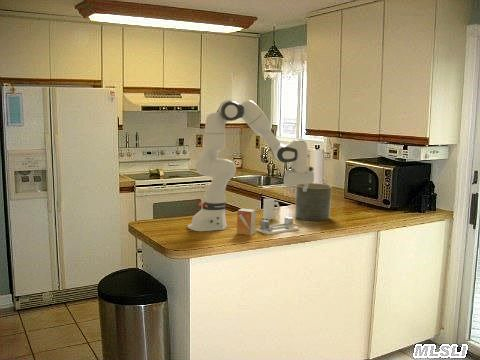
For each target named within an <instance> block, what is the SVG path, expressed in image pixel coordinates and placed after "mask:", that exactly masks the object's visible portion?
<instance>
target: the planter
mask: <svg viewBox="0 0 480 360" xmlns="http://www.w3.org/2000/svg"><path fill="white" fill-rule="evenodd" d="M304 186H305V185H304V184H301V185H295V202H294V203H295V205H294V207H295V210H294V211H295V213H294V215H295V216H294V217H295V218H297V219H299V220H302V221H310V222H322V221H328V220H329V219H330V216H331V214H330V213H331V205H332V204H331V203H332V201H331V200H332V190H333V189H332V185H330V184H325V183H316V182H313V183H310V184H308V187H307V191H306V192H303V188H304Z"/></svg>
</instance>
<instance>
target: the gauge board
mask: <svg viewBox="0 0 480 360" xmlns="http://www.w3.org/2000/svg"><path fill="white" fill-rule="evenodd" d="M270 221H271V220H266V219H262V220H260V226H258V227H257V228H256V231H257V232H259V233H262V234H265V235H274V234H279V233H281V234H282V233H287V232H294V231H299V230H300V227H297V226H296V225H288V226H286V225H284V222H283V223H278V224H276V223H275V224H271V223H270Z"/></svg>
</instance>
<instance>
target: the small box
mask: <svg viewBox="0 0 480 360" xmlns="http://www.w3.org/2000/svg"><path fill="white" fill-rule="evenodd" d="M236 220H237V221H236V222H237V223H236V234H237V235H243V234H244V236H253V235H254V234H255V233H256V232H255V231H256V230H255V229H256V209H250V208H240V209H237V217H236Z"/></svg>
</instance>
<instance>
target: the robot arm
mask: <svg viewBox="0 0 480 360" xmlns="http://www.w3.org/2000/svg"><path fill="white" fill-rule="evenodd" d="M238 119H241V120H243V121H244V122H245V124H247V126H248V127H249V128H250V129H251V130H252V131H253V132H254V133H255V134H257V135H258V136H259V137H261V138H262V139H263V140H264V141H265V143H266V144H267V146H269V148H270V150H271V153H272V154H271V155H272V157H273V159H275V161H278V162H281V163H282V164H283V163H284V164H286V163H287V164H288V163H291V168H289V169H286V170H285V171H284V176H283V185H284V186H286V187H288V189H289V190H290V192H289V193H290V194H295V189H294V188H293V187H294V186H296V185H301V184H304V185H305V186H304V188H303V192H306V191H307V187H308V184H310V183H315V173H314V170H315V167H314V166H310V165H308V154H309V153H308V143H307V141H305V140H301V139H292V141H290V142H289V143H286V144H285V143H282V142H280V141H279V139H278V137H276V135H275V134H274V133H273V131H272V130H271V122H270V120H269V118H268V117H267V115H266V113H265V112H264V111H263V110H262V109H261V107H260V106H259V105H258V104H257V103H255V102H254V101H253V100H251V99H248V100H247V99H246V100H244V101H243V102H241V103H238V102H236V101H235V100H233V99H226V100H225V101H223V102H221V103H220V105H219V107H218V109H217V111H216V112H210V113H209V114H207V116H206V118H205V127H204V149H203V152H202V155H201V157H200V158H198V159H197V160H196V163H195V170H196V172H197V173H198V174H199V175H201V176H204V177H210V178H212V180H211V183H210V184H208V185H207V186H206V187H205V190H204V191H205V193H204V194H205V195H204V196H205V197H204V199H205V200H204V202H201V201H200V202H199V203H198V207H201V208H200V210H199V211H198V212H197V213H195V214H194V215H193V216H192V219H191V223H190V224H188V225H187V228H188V229H189V230H192V231H194V232H195V231H196V232H212V231H223V230H225V229H226V228H227V227H228V225H227V221H226V189H227V185H228V182H229V181H230V180H231V179H232V178H233V177H234V176H235V174H236V172H237V165H236V163H235V162H234V161H233V160H230V159H227V158H221V157H219V154H220V152H221V151H222V150H224V149H225V147H226V124H227V122H233V121H237V120H238Z"/></svg>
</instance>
